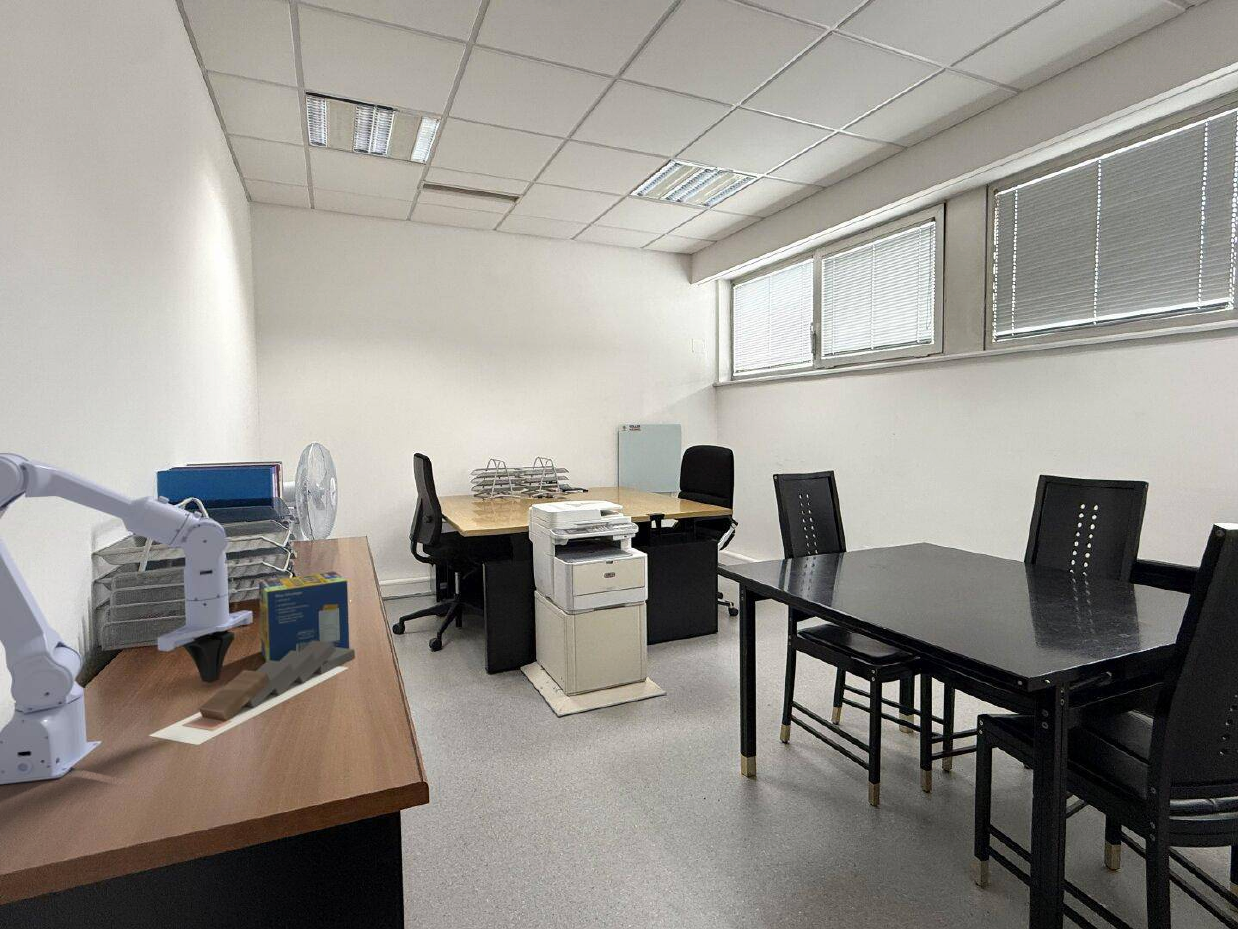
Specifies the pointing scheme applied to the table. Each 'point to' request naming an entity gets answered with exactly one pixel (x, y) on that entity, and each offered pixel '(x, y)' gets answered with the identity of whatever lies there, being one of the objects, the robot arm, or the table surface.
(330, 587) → the protein box
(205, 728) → the board
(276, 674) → the domino
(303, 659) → the domino
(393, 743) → the table surface
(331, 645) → the domino
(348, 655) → the domino
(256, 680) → the domino
